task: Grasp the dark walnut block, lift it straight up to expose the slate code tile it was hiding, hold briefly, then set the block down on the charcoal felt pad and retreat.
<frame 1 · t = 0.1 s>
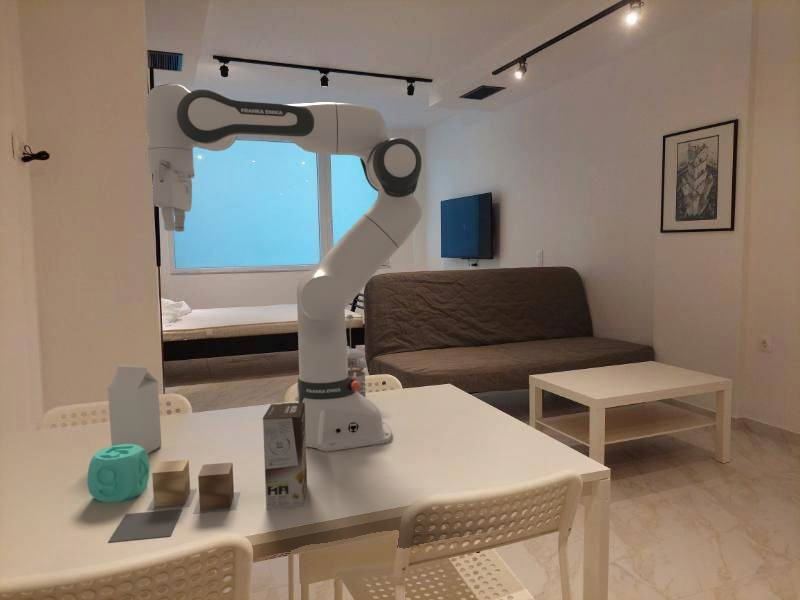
hand: (175, 231, 121), 48 cm above the table, tool pointing down, fingers open, 8 cm apart
milk carton: (137, 452, 124), on the table
french press: (352, 401, 161), on the table
code tile A: (217, 504, 98), on the table
coffee box: (287, 499, 100), on the table
code tile B: (172, 500, 100), on the table
felt pad: (147, 526, 91), on the table
decorative dice: (121, 494, 103), on the table
walnut block: (217, 502, 98), resting on code tile A
oak block: (172, 498, 100), resting on code tile B
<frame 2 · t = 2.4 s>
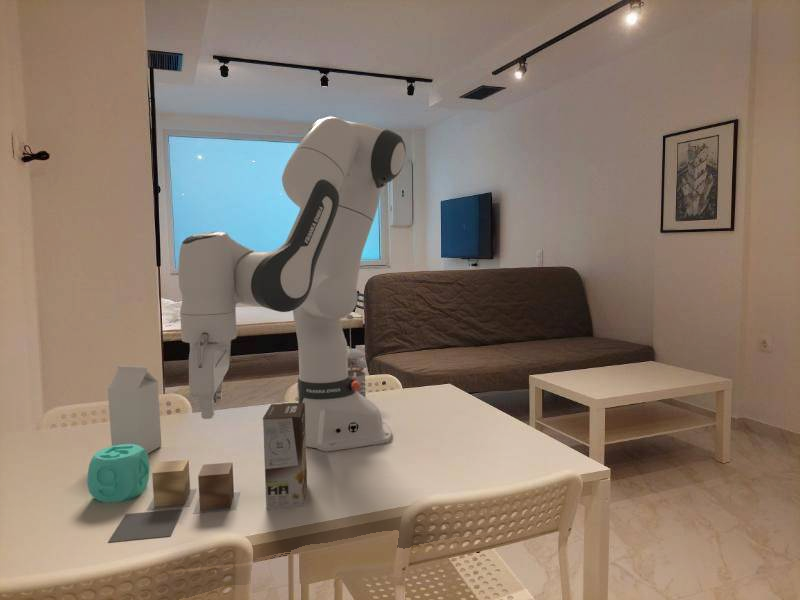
hand: (212, 409, 96), 17 cm above the table, tool pointing down, fingers open, 8 cm apart
nothing on the table moved.
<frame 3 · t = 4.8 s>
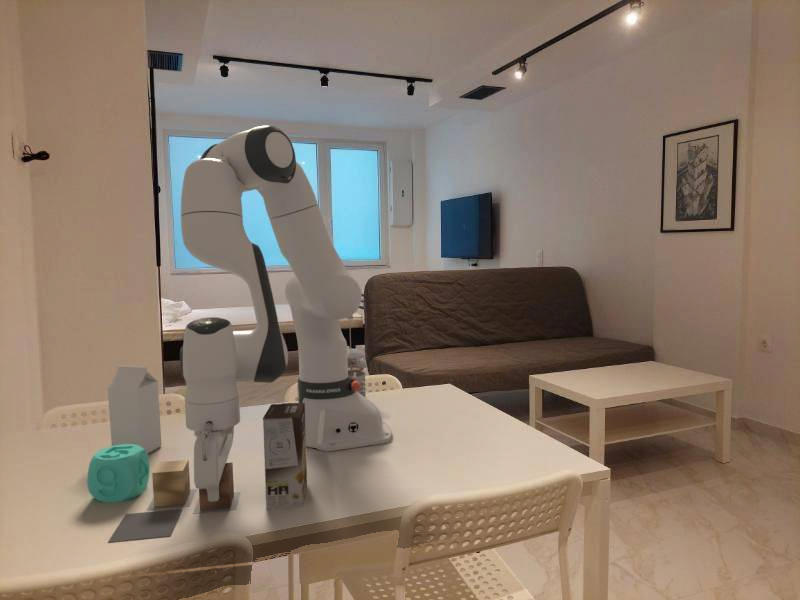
hand: (216, 491, 98), 2 cm above the table, tool pointing down, fingers closed on walnut block, 5 cm apart
walnut block: (217, 502, 98), resting on code tile A, touching gripper
everything else where it was.
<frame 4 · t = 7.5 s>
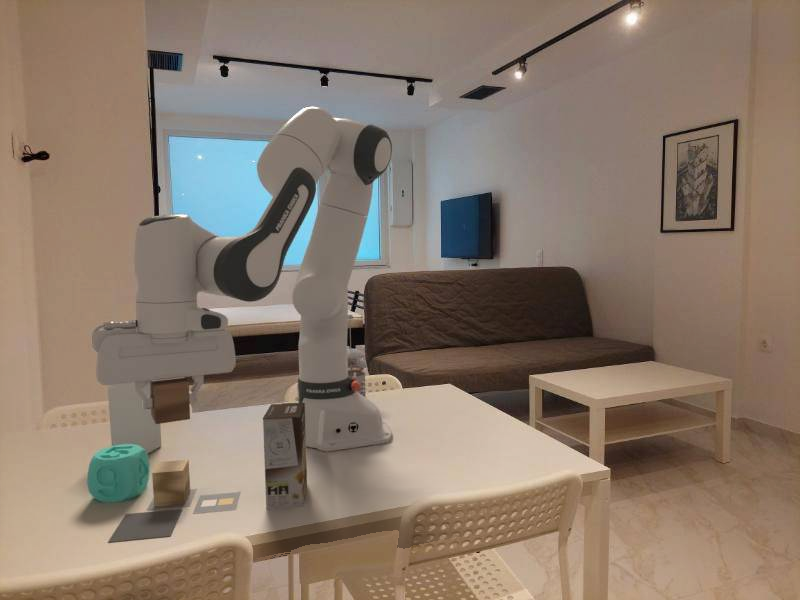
hand: (170, 405, 89), 20 cm above the table, tool pointing down, fingers closed on walnut block, 5 cm apart
walnut block: (170, 417, 90), point 18 cm above the table, touching gripper
everything else where it was.
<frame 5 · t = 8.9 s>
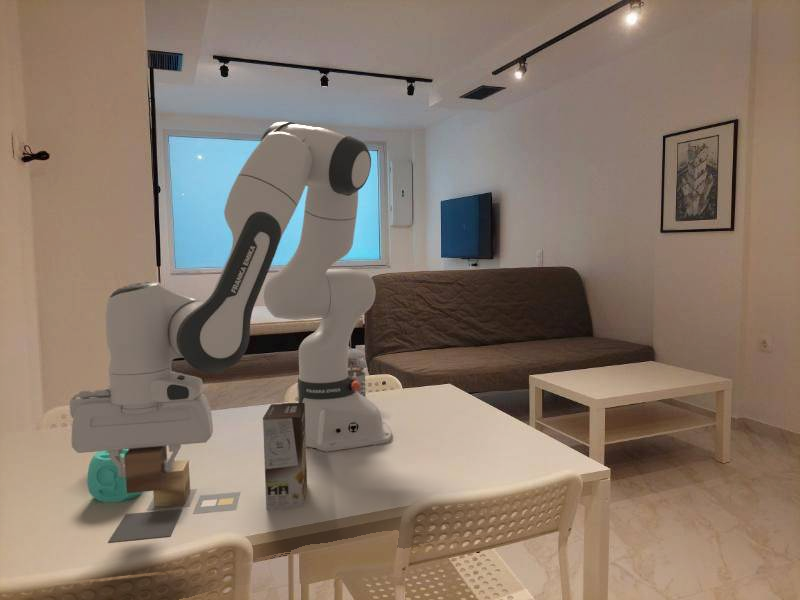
hand: (147, 473, 89), 9 cm above the table, tool pointing down, fingers closed on walnut block, 5 cm apart
walnut block: (148, 484, 89), point 7 cm above the table, touching gripper
everything else where it was.
when the fingers open (4 cm above the table, at t = 10.3 s): walnut block drops 2 cm, resting on felt pad.
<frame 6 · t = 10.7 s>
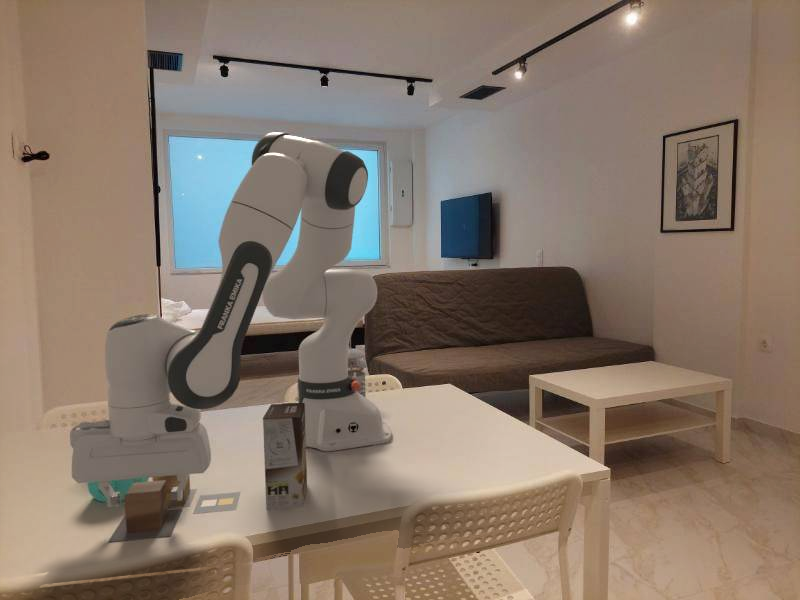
hand: (146, 502, 90), 4 cm above the table, tool pointing down, fingers open, 8 cm apart
walnut block: (148, 523, 91), resting on felt pad
everything else where it was.
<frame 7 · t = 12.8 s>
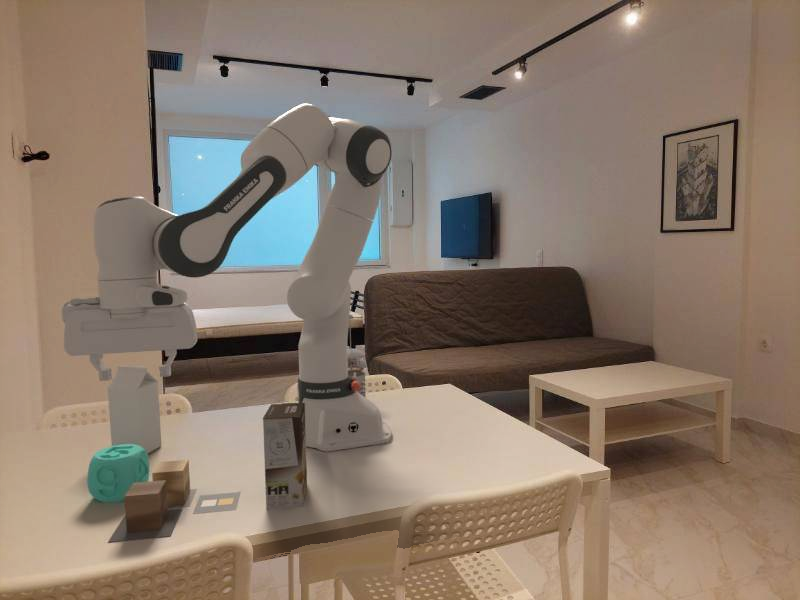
hand: (136, 377, 95), 23 cm above the table, tool pointing down, fingers open, 8 cm apart
nothing on the table moved.
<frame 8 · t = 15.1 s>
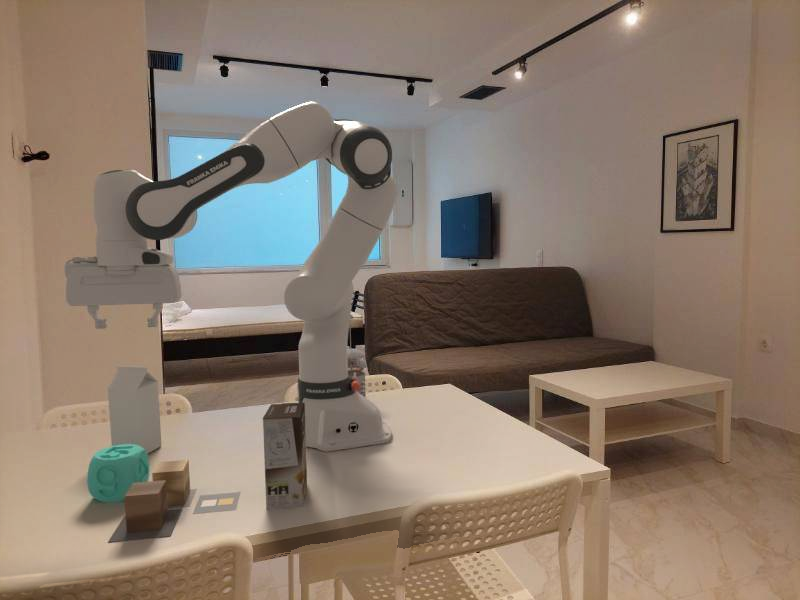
hand: (127, 327, 110), 29 cm above the table, tool pointing down, fingers open, 8 cm apart
nothing on the table moved.
at the end: walnut block inside the target area on the felt pad (0.2 cm from its centre), point 0.4 cm above the felt pad's base; walnut block tilted 0°; the gripper is holding nothing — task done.
